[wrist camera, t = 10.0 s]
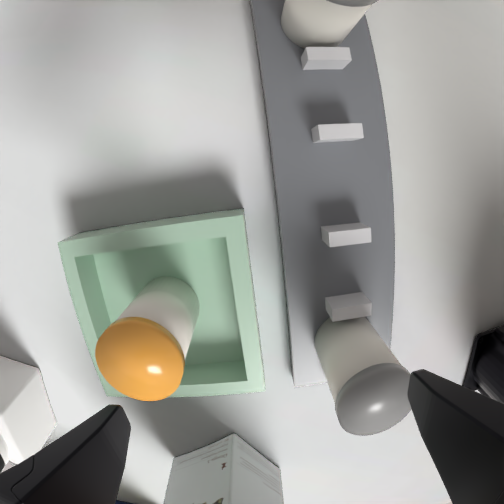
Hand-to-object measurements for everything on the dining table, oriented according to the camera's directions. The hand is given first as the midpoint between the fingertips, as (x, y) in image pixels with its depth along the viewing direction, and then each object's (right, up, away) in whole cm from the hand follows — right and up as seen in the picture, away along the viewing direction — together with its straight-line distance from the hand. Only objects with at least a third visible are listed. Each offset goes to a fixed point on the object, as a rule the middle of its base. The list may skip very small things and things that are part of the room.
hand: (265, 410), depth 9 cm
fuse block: (+4, +9, +10) cm, 14 cm away
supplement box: (-3, -15, +16) cm, 22 cm away
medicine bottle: (-23, -9, +14) cm, 28 cm away
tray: (-6, +1, +12) cm, 13 cm away
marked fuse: (-6, +1, +11) cm, 13 cm away
